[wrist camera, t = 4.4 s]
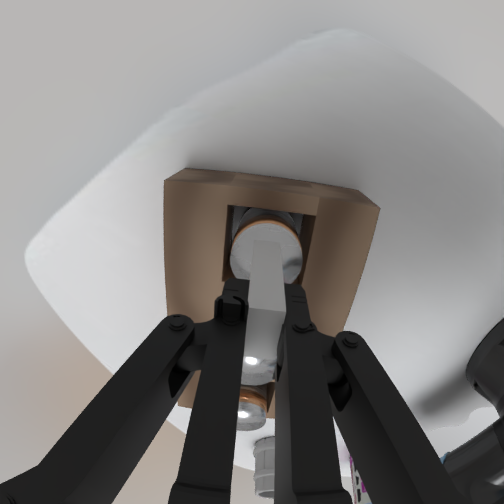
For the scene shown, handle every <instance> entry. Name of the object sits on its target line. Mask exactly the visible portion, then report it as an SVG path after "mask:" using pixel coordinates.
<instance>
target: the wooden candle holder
mask: <svg viewBox="0 0 504 504" xmlns="http://www.w3.org/2000/svg"><path fill="white" fill-rule="evenodd" d="M234 205H237V206H246V207H254V208H262V209H270V210H278V211H286V212H293V213H301V214H303V219H302V224H301V230H300V235H299V241H300V245H301V249H302V258H303V262H302V268H301V271H300V273H299V275H298V276H297V278H296V279H295V280H294V281H293V282H292V283H291V284H297V285H301V286H302V288H303V289H304V290H305V292H306V298H307V304H308V308H309V313H310V318H311V321H312V322H313V323H314V324H315V325H316V327H317V330H318V331H319V332H321V333H323V334H325V335H329V336H332V337H336V335H337V334H338V333H339V332H342V331H343V328H344V326H345V323H346V320H347V317H348V315H349V312H350V309H351V306H352V303H353V300H354V297H355V295H356V292H357V288H358V285H359V282H360V279H361V276H362V273H363V270H364V266H365V263H366V260H367V256H368V253H369V249H370V246H371V242H372V239H373V235H374V231H375V227H376V223H377V220H378V216H379V211H380V207H378V206H377V205H376V204H375V203H373V202H372V201H371V200H370V199H369V198H367V197H366V196H365V195H364V194H362V193H361V192H360V191H359V190H354V189H348V188H343V187H337V186H331V185H325V184H319V183H313V182H307V181H300V180H293V179H286V178H279V177H271V176H263V175H255V174H246V173H236V172H226V171H215V170H203V169H190V168H185V169H183V170H181V171H179V172H178V173H176V174H174V175H172V176H171V177H169V178H167V179H166V180H164V264H165V285H166V301H167V315H168V316H170V315H173V314H182V315H186V316H188V317H190V318H191V319H192V320H193V321H194V323H201V322H206V321H209V320H211V319H213V318H214V301H215V300H216V298H217V297H219V296H220V295H222V291H223V287H224V283H225V282H226V281H227V280H228V279H229V278H236V277H235V275H234V273H233V271H232V268H231V264H230V255H231V251H230V248H231V237H232V225H233V214H234ZM200 373H201V370H197V371H195V373H194V375H193V377H192V378H191V380H190V381H189V383H188V385H187V386H186V388H185V389H184V391H183V393H182V394H181V396H180V398H179V399H178V406H181V407H186V408H192V407H193V403H194V399H195V394H196V390H197V386H198V381H199V377H200ZM266 400H267V415H266V418H274V419H275V379H274V380H272V381H270V382H268V383H267V395H266Z"/></svg>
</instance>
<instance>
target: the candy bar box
mask: <svg viewBox="0 0 504 504" xmlns="http://www.w3.org/2000/svg"><path fill="white" fill-rule="evenodd" d="M350 468H351V476H352V484H353V493H354V502H355V504H372V502H371V500H370V498H369V496H368V493H367V491H366V489H365V487H364V484H363V482H362V480H361V478H360V475H359V473H358V471H357V468H356V466H355V464H354V462H353V459H352V457H351V455H350Z"/></svg>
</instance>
